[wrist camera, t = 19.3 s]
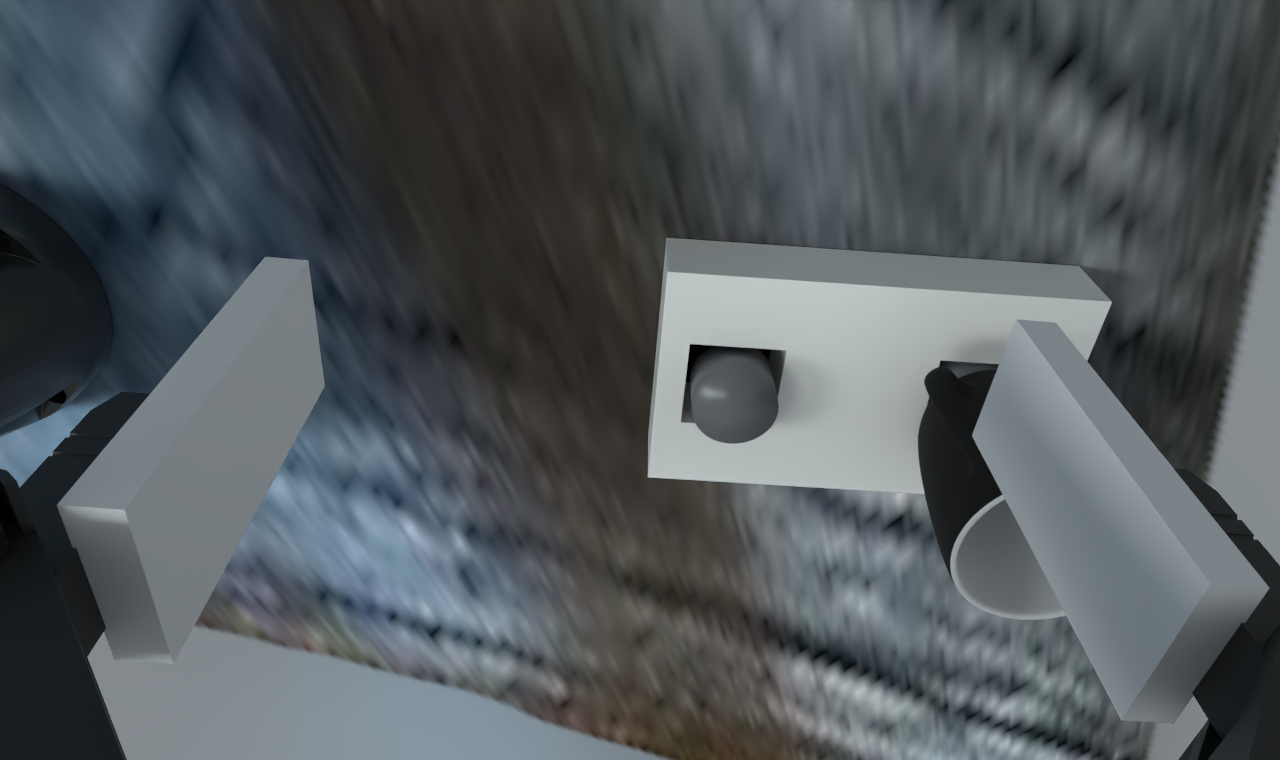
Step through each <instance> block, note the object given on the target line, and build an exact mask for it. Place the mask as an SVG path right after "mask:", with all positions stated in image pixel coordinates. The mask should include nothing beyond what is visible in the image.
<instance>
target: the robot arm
mask: <svg viewBox="0 0 1280 760" xmlns="http://www.w3.org/2000/svg"><path fill="white" fill-rule="evenodd" d="M111 341H112V322H111V315H110V310H109V306H108V302H107V299H106V296H105V294H104V291H103V289H102V286H101V284H100V282H99V280H98V278H97V276H96V274H95V273H94V271H93V269H92V268H91V266H90V264H89V263H88V261H87V260H86V259H85V257H84V256H83V254H82V253H81V252H80V250H79V249H78V248H77V247H76V245H75V244H74V243H73V242H72V241H71V240H70V239H69V237H68V236H67V235H66V234H65V233H64V232H63V231H62V230H61V229H60V228H59V227H58V226H57V225H56V224H55V223H53V222H52V221H51V220H50V219H49V218H48V217H47V216H45V215H44V214H43V213H42V212H41V211H39V210H38V209H37V208H35V207H34V206H33V205H31V204H30V203H29V202H27V201H26V200H24V199H23V198H21V197H20V196H18V195H16V194H15V193H13V192H12V191H10V190H8V189H6V188H5V187H3V186H1V185H0V437H1V436H4V435H6V434H8V433H11V432H13V431H15V430H18V429H20V428H22V427H25V426H27V425H29V424H32V423H34V422H36V421H39V420H41V419H43V418H46V417H48V416H50V415H52V414H54V413H56V412H57V411H59V410H61V409H62V408H63V407H65V406H66V405H68V404H69V403H70V402H72V401H73V400H74V399H75V398H76V397H77V396H78V395H79V394H80V393H81V392H82V391H83V390H84V389H85V388H86V387H87V386H88V385H89V384H90V383H91V382H92V381H93V380H94V379H95V378H96V376H97V375H98V374H99V373H100V371H101V370H102V368H103V366H104V365H105V362H106V360H107V358H108V355H109V352H110V347H111ZM324 387H325V383H324V376H323V368H322V361H321V353H320V345H319V338H318V330H317V323H316V315H315V308H314V300H313V293H312V285H311V277H310V270H309V262H308V260H298V259H286V258H274V257H264V259H263V260H262V261H261V262H260V263H259V265H258V266H257V267H256V268H255V269H254V271H253V272H252V273H251V274H250V275H249V277H248V278H247V279H246V280H245V281H244V282H243V284H242V285H241V286H240V287H239V288H238V290H237V291H236V292H235V293H234V294H233V296H232V297H231V298H230V299H229V300H228V302H227V303H226V304H225V305H224V306H223V308H222V309H221V310H220V311H219V312H218V313H217V315H216V316H215V317H214V318H213V319H212V321H211V322H210V323H209V324H208V325H207V327H206V328H205V329H204V330H203V331H202V333H201V334H200V335H199V336H198V337H197V339H196V340H195V341H194V342H193V343H192V344H191V346H190V347H189V348H188V349H187V350H186V352H185V353H184V354H183V355H182V356H181V358H180V359H179V360H178V361H177V362H176V364H175V365H174V366H173V367H172V368H171V370H170V371H169V372H168V373H167V374H166V375H165V377H164V378H163V379H162V380H161V381H160V383H159V384H158V385H157V386H156V387H155V389H154V390H153V391H152V392H151V393H150V394H145V393H132V392H121V393H120V394H118V395H116V396H114V397H113V398H111V399H109V400H108V401H106V402H104V403H103V404H101V405H99V406H97V407H96V408H94V409H92V410H91V411H90V412H89V413H88V414H87V415H86V416H85V417H84V418H83V419H82V420H81V421H80V423H79V424H78V425H77V426H76V427H75V428H74V429H73V430H72V431H71V432H70V437H69V438H65V439H64V440H63V441H62V442H61V443H60V444H59V446H58V447H57V448H56V449H55V450H54V451H53V456H48V458H47V459H46V460H45V461H44V462H43V463H42V464H41V465H40V466H39V467H38V469H37V470H36V471H35V472H34V473H33V474H32V475H31V476H30V477H29V478H28V479H27V481H26V482H25V483H24V484H23V485H22V486H21V487H20V488H19V486H18V484H17V481H16V480H15V479H14V478H13V477H12V476H11V475H10V473H9V472H8V471H6V470H2V469H0V760H126V757H125V754H124V752H123V749H122V746H121V744H120V741H119V739H118V736H117V733H116V731H115V728H114V726H113V723H112V720H111V718H110V715H109V713H108V710H107V707H106V705H105V702H104V699H103V697H102V694H101V692H100V689H99V687H98V684H97V681H96V679H95V676H94V673H93V671H92V668H91V666H90V664H89V661H88V658H87V656H88V655H89V653H90V652H91V650H92V649H93V647H94V645H95V644H96V642H97V641H98V639H99V638H100V636H101V634H102V633H103V632H105V635H106V638H107V641H108V643H109V646H110V649H111V651H112V654H113V657H114V659H115V660H125V661H141V662H158V663H174V661H175V659H176V658H177V656H178V654H179V652H180V650H181V648H182V647H183V645H184V643H185V641H186V639H187V638H188V636H189V634H190V632H191V630H192V628H193V627H194V625H195V623H196V621H197V619H198V617H199V616H200V614H201V612H202V610H203V608H204V606H205V605H206V603H207V601H208V599H209V597H210V595H211V594H212V592H213V590H214V588H215V586H216V585H217V583H218V581H219V579H220V577H221V575H222V574H223V572H224V570H225V568H226V566H227V564H228V563H229V561H230V559H231V557H232V555H233V553H234V552H235V550H236V548H237V546H238V544H239V542H240V541H241V539H242V537H243V535H244V533H245V532H246V530H247V528H248V526H249V524H250V522H251V521H252V519H253V517H254V515H255V513H256V511H257V510H258V508H259V506H260V504H261V502H262V500H263V499H264V497H265V495H266V493H267V491H268V489H269V488H270V486H271V484H272V482H273V480H274V479H275V477H276V475H277V473H278V471H279V469H280V468H281V466H282V464H283V462H284V460H285V458H286V457H287V455H288V453H289V451H290V449H291V447H292V446H293V444H294V442H295V440H296V438H297V436H298V435H299V433H300V431H301V429H302V427H303V426H304V424H305V422H306V420H307V418H308V416H309V415H310V413H311V411H312V409H313V407H314V405H315V404H316V402H317V400H318V398H319V396H320V394H321V393H322V391H323V389H324ZM972 437H973V439H974V441H975V443H976V445H977V447H978V448H979V450H980V452H981V454H982V456H983V458H984V460H985V462H986V464H987V466H988V467H989V469H990V471H991V473H992V475H993V477H994V479H995V481H996V483H997V485H998V486H999V488H1000V490H1001V492H1002V494H1003V496H1004V498H1005V500H1006V502H1007V504H1008V505H1009V507H1010V509H1011V511H1012V513H1013V515H1014V517H1015V519H1016V521H1017V523H1018V524H1019V526H1020V528H1021V530H1022V532H1023V534H1024V536H1025V538H1026V540H1027V542H1028V543H1029V545H1030V547H1031V549H1032V551H1033V553H1034V555H1035V557H1036V559H1037V561H1038V562H1039V564H1040V566H1041V568H1042V570H1043V572H1044V574H1045V576H1046V578H1047V580H1048V581H1049V583H1050V585H1051V587H1052V589H1053V591H1054V593H1055V595H1056V597H1057V599H1058V601H1059V602H1060V604H1061V606H1062V608H1063V610H1064V612H1065V614H1066V616H1067V618H1068V620H1069V621H1070V623H1071V625H1072V627H1073V629H1074V631H1075V633H1076V635H1077V637H1078V639H1079V640H1080V642H1081V644H1082V646H1083V648H1084V650H1085V652H1086V654H1087V656H1088V658H1089V659H1090V661H1091V663H1092V665H1093V667H1094V669H1095V671H1096V673H1097V675H1098V677H1099V678H1100V680H1101V682H1102V684H1103V686H1104V688H1105V690H1106V692H1107V694H1108V696H1109V697H1110V699H1111V701H1112V703H1113V705H1114V707H1115V709H1116V711H1117V713H1118V715H1119V716H1120V718H1121V720H1126V721H1143V722H1160V723H1174V722H1175V721H1176V719H1177V718H1178V717H1179V715H1180V713H1181V712H1182V710H1183V709H1184V708H1185V707H1186V705H1187V704H1188V702H1189V701H1190V699H1191V698H1192V697H1193V695H1194V697H1195V698H1196V700H1197V701H1198V703H1199V705H1200V706H1201V708H1202V709H1203V711H1204V713H1205V714H1206V716H1207V718H1208V721H1207V722H1206V723H1205V725H1204V726H1203V728H1202V729H1201V730H1200V732H1199V733H1198V734H1197V736H1196V737H1195V738H1194V740H1193V741H1192V742H1191V744H1190V745H1189V747H1188V748H1187V749H1186V750H1185V752H1184V753H1183V754H1182V756H1181V757H1180V758H1179V760H1280V566H1279V564H1278V563H1277V562H1276V561H1275V560H1274V559H1273V557H1272V556H1271V555H1270V554H1269V553H1268V551H1267V550H1266V549H1265V548H1264V547H1263V545H1262V544H1261V543H1260V542H1259V541H1258V540H1254V539H1253V536H1254V535H1253V533H1252V532H1251V531H1250V530H1249V529H1248V528H1247V526H1246V525H1245V524H1244V523H1243V522H1242V520H1237V514H1236V513H1235V512H1234V511H1233V510H1232V508H1231V507H1230V506H1229V505H1228V504H1227V503H1226V502H1225V500H1224V499H1223V498H1222V497H1221V495H1220V494H1219V493H1218V492H1217V491H1216V490H1214V489H1213V488H1212V487H1210V486H1209V485H1208V484H1206V483H1205V482H1203V481H1202V480H1201V479H1199V478H1198V477H1197V476H1195V475H1194V474H1193V473H1191V472H1190V471H1188V470H1186V469H1173V467H1172V466H1171V465H1170V464H1169V462H1168V461H1167V460H1166V459H1165V457H1164V456H1163V455H1162V454H1161V452H1160V451H1159V450H1158V449H1157V448H1156V446H1155V445H1154V444H1153V443H1152V441H1151V440H1150V439H1149V438H1148V436H1147V435H1146V434H1145V433H1144V431H1143V430H1142V429H1141V428H1140V426H1139V425H1138V424H1137V423H1136V421H1135V420H1134V419H1133V418H1132V416H1131V415H1130V414H1129V413H1128V411H1127V410H1126V409H1125V408H1124V407H1123V405H1122V404H1121V403H1120V402H1119V400H1118V399H1117V398H1116V397H1115V395H1114V394H1113V393H1112V392H1111V390H1110V389H1109V388H1108V387H1107V385H1106V384H1105V383H1104V382H1103V380H1102V379H1101V378H1100V377H1099V375H1098V374H1097V373H1096V372H1095V370H1094V369H1093V368H1092V367H1091V366H1090V364H1089V363H1088V362H1087V361H1086V359H1085V358H1084V357H1083V356H1082V354H1081V353H1080V352H1079V351H1078V349H1077V348H1076V347H1075V346H1074V344H1073V343H1072V342H1071V341H1070V339H1069V338H1068V337H1067V336H1066V334H1065V333H1064V332H1063V331H1062V329H1061V328H1060V327H1059V326H1058V325H1057V323H1055V322H1043V321H1031V320H1019V319H1016V322H1015V324H1014V327H1013V329H1012V332H1011V335H1010V337H1009V340H1008V343H1007V345H1006V348H1005V350H1004V353H1003V356H1002V358H1001V361H1000V363H999V366H998V369H997V371H996V374H995V376H994V379H993V382H992V384H991V387H990V389H989V392H988V395H987V397H986V400H985V403H984V405H983V408H982V410H981V413H980V416H979V418H978V421H977V423H976V426H975V429H974V431H973V434H972Z"/></svg>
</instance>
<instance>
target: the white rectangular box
mask: <svg viewBox="0 0 1280 760" xmlns="http://www.w3.org/2000/svg"><path fill="white" fill-rule="evenodd" d="M1111 304H1112V301H1111V300H1110V299H1109V298H1108V297H1107V296H1106V295H1105V294H1104V292H1103V291H1102V290H1101V289H1100V288H1099V287H1098V286H1097V285H1096V284H1095V283H1094V282H1093V281H1092V280H1091V278H1090V277H1089V276H1088V275H1087V274H1086V273H1085V272H1084V271H1083V270H1082V269H1081V268H1080V267H1079V266H1072V265H1057V264H1043V263H1028V262H1014V261H999V260H985V259H970V258H956V257H941V256H927V255H912V254H897V253H883V252H868V251H854V250H839V249H825V248H810V247H796V246H781V245H767V244H752V243H738V242H723V241H709V240H694V239H679V238H666V248H665V259H664V270H663V280H662V291H661V302H660V313H659V324H658V334H657V345H656V356H655V367H654V378H653V389H652V399H651V410H650V421H649V432H648V477H652V478H668V479H685V480H701V481H717V482H734V483H750V484H766V485H783V486H799V487H815V488H832V489H848V490H864V491H880V492H897V493H913V494H925V493H924V488H923V483H922V478H921V472H920V465H919V456H918V433H919V427H920V423H921V419H922V417H923V414H924V412H925V410H926V408H927V406H928V400H929V395H928V392H927V390H926V387H925V384H924V380H925V377H926V375H927V374H928V373H929V372H930V371H931V370H933V369H935V368H937V367H939V364H940V361H956V362H972V363H987V364H999V363H1000V361H1001V358H1002V356H1003V353H1004V350H1005V348H1006V345H1007V343H1008V340H1009V337H1010V335H1011V332H1012V329H1013V327H1014V324H1015V322H1016V319H1019V320H1031V321H1043V322H1055V323H1057V325H1058V326H1059V327H1060V328H1061V329H1062V331H1063V332H1064V333H1065V334H1066V336H1067V337H1068V338H1069V339H1070V341H1071V342H1072V343H1073V344H1074V346H1075V347H1076V348H1077V349H1078V351H1079V352H1080V353H1081V354H1082V356H1083V357H1084V358H1085V359H1086V361H1088V358H1089V356H1090V354H1091V351H1092V349H1093V346H1094V344H1095V342H1096V339H1097V337H1098V335H1099V332H1100V330H1101V327H1102V325H1103V323H1104V320H1105V318H1106V316H1107V313H1108V311H1109V308H1110V306H1111ZM690 344H697V345H712V346H727V347H743V348H758V349H771V352H770V357H769V363H770V366H771V370H772V375H773V380H774V384H775V389H776V394H777V399H778V405H779V409H778V414H777V418H776V420H775V422H774V423H773V425H772V426H771V427H770V429H769V430H768V431H766V432H765V433H764V434H763V435H761V436H760V437H758V438H756V439H754V440H751V441H748V442H744V443H736V444H729V443H723V442H719V441H716V440H713V439H711V438H709V437H708V436H706V435H705V434H704V433H702V432H701V431H700V430H699V428H698V427H697V425H696V424H695V422H694V419H693V415H692V402H691V387H690V382H686V373H687V365H688V356H689V348H690Z"/></svg>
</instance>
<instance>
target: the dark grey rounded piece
mask: <svg viewBox="0 0 1280 760" xmlns="http://www.w3.org/2000/svg"><path fill="white" fill-rule="evenodd" d="M690 387H691V402H692V415H693V419H694V422H695V424H696V425H697V427H698V428H699V430H700V431H701V432H702V433H704V434H705V435H706V436H708V437H709V438H711V439H713V440H716V441H719V442H723V443H729V444H736V443H744V442H748V441H751V440H754V439H756V438H758V437H760V436H761V435H763V434H764V433H765V432H766V431H768V430H769V429H770V427H771V426H772V425H773V423H774V422H775V420H776V418H777V414H778V409H779V405H778V399H777V394H776V389H775V384H774V380H773V375H772V370H771V366H770V363H769V361H768V359H767V358H766V357H765V355H764V354H763V353H762V352H761V351H759V350H758V349H756V348H743V347H727V346H713V347H711V348H709V349H707V350H706V351H704V352H703V353H702V354H701V355H700V356H699V357H698V358H697V359H696V361H695V362H694V364H693V366H692V369H691V373H690Z"/></svg>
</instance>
